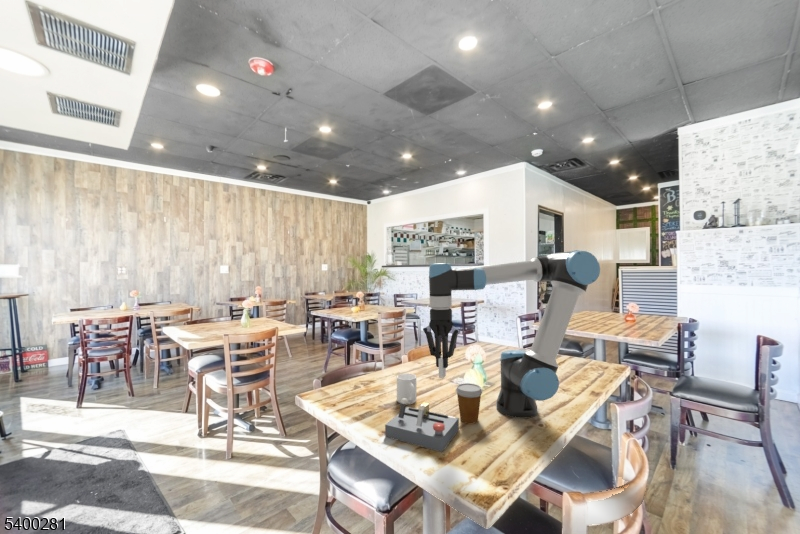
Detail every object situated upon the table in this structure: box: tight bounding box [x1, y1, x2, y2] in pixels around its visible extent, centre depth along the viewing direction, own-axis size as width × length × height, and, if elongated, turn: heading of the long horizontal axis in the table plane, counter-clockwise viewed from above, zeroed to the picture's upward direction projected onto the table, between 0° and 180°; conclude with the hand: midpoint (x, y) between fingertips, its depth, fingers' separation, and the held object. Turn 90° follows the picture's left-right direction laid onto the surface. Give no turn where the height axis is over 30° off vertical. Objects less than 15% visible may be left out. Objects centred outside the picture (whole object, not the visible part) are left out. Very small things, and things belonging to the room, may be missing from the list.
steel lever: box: [416, 404, 425, 427], centre depth 109 cm, size 2×2×6 cm
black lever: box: [398, 398, 408, 419], centre depth 115 cm, size 2×2×6 cm
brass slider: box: [421, 402, 430, 416], centre depth 117 cm, size 2×3×4 cm, turn 152°
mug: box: [396, 373, 417, 406], centre depth 139 cm, size 12×8×10 cm
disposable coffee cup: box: [455, 382, 483, 425], centre depth 122 cm, size 10×10×12 cm
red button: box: [433, 423, 445, 436], centre depth 104 cm, size 4×4×3 cm
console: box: [384, 406, 460, 453], centre depth 113 cm, size 20×16×5 cm
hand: (442, 376), depth 114 cm, fingers closed
